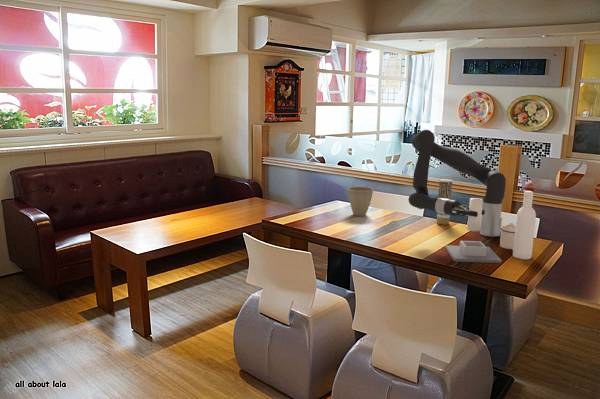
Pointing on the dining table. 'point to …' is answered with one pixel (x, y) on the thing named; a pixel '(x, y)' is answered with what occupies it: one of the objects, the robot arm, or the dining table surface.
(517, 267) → the dining table surface
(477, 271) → the dining table surface
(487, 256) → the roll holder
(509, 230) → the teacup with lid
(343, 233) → the dining table surface
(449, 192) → the paper tube
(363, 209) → the plant pot
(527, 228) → the bottle
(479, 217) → the paper roll
